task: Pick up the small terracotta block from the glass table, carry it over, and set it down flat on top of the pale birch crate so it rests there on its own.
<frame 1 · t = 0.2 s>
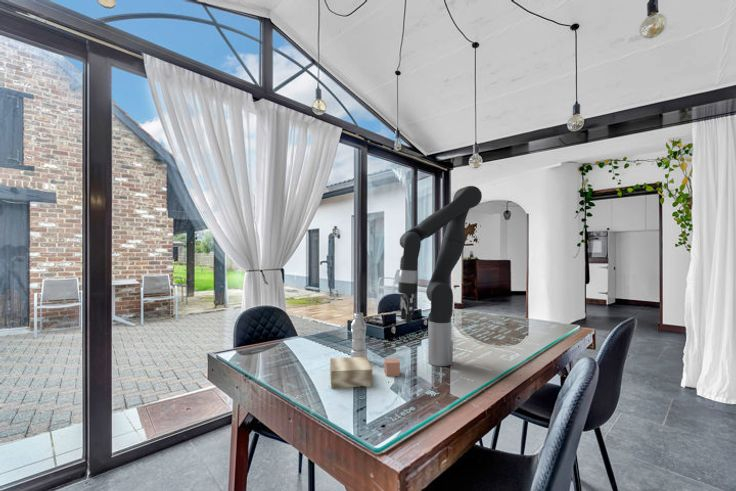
hand: (405, 321, 139), 18 cm above the table, tool pointing down, fingers open, 8 cm apart
plastic bottle: (358, 361, 143), on the table
birch crate: (350, 380, 123), on the table
terracotta block: (391, 373, 129), on the table
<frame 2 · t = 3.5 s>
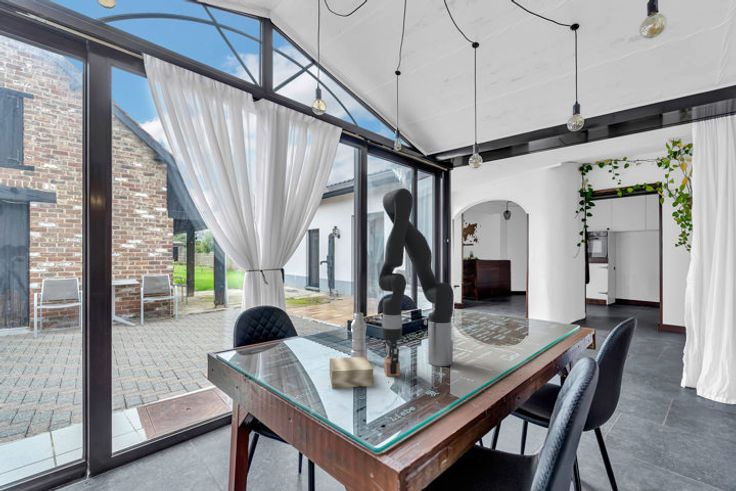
hand: (391, 371, 129), 1 cm above the table, tool pointing down, fingers closed on terracotta block, 5 cm apart
terracotta block: (391, 373, 129), on the table, touching gripper
everything else where it was.
when the fingers open (7 cm above the table, at t = 8.4 s): terracotta block stays where it is, point 6 cm above the table.
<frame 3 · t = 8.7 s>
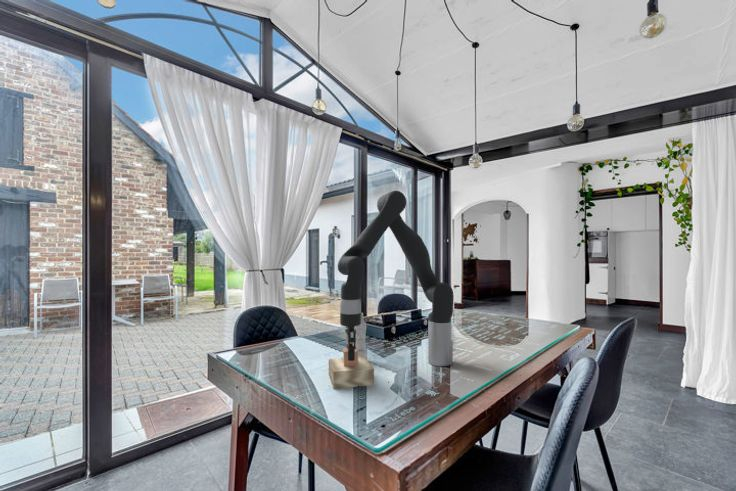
hand: (350, 356, 123), 8 cm above the table, tool pointing down, fingers open, 8 cm apart
terracotta block: (350, 363, 123), point 6 cm above the table
everything else where it was.
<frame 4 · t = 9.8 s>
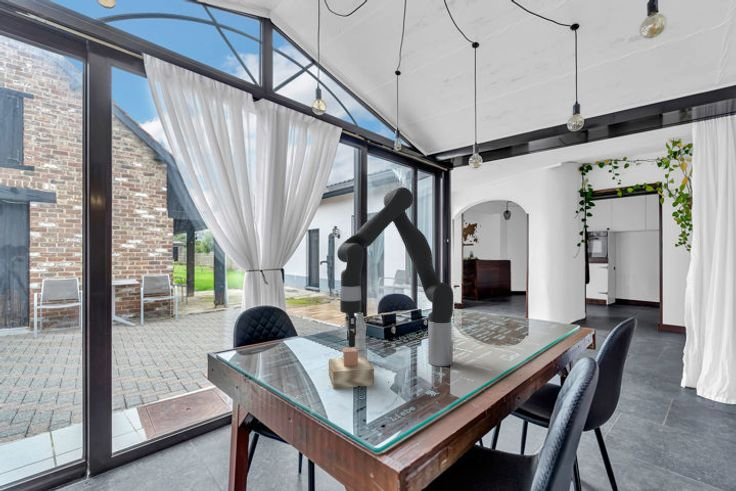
hand: (350, 343, 123), 13 cm above the table, tool pointing down, fingers open, 8 cm apart
nothing on the table moved.
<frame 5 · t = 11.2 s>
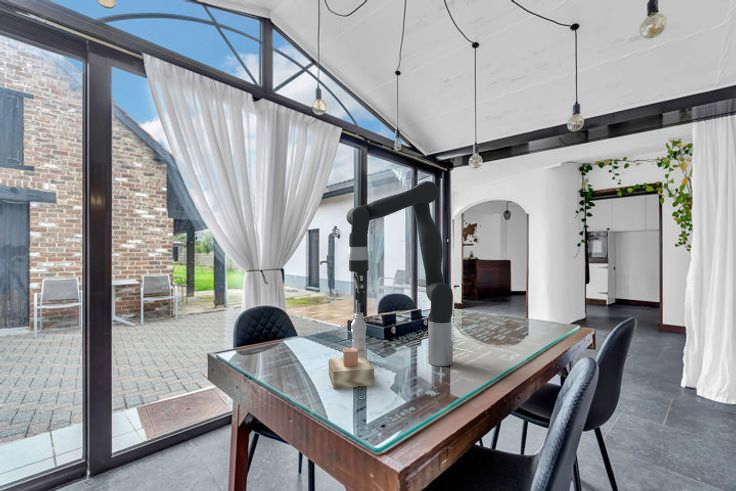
hand: (359, 301, 130), 27 cm above the table, tool pointing down, fingers open, 8 cm apart
birch crate: (350, 380, 123), on the table, touching terracotta block
terracotta block: (350, 363, 123), point 6 cm above the table, touching birch crate
everything else where it was.
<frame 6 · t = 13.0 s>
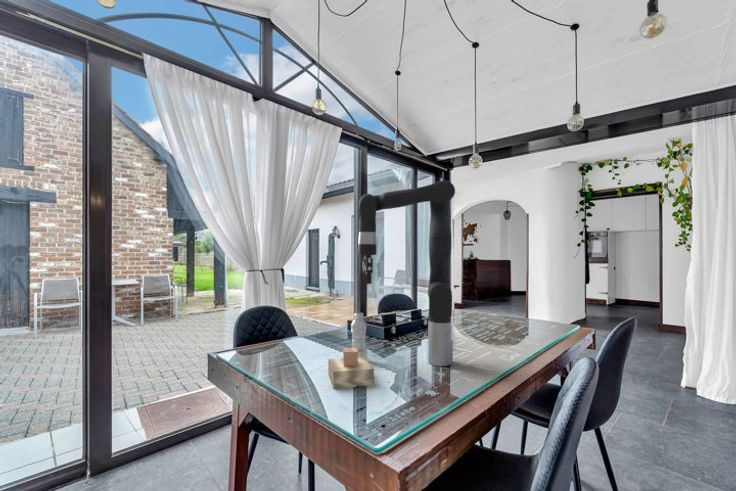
hand: (367, 282, 140), 33 cm above the table, tool pointing down, fingers open, 8 cm apart
birch crate: (350, 380, 123), on the table
terracotta block: (350, 363, 123), point 6 cm above the table
everything else where it was.
at the end: terracotta block inside the target area on the birch crate (0.3 cm from its centre), point 6.0 cm above the birch crate's base; terracotta block tilted 0°; the gripper is holding nothing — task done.
